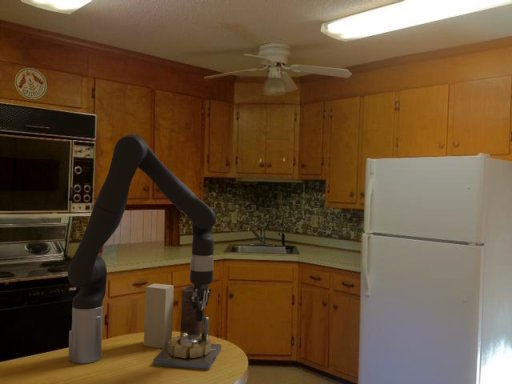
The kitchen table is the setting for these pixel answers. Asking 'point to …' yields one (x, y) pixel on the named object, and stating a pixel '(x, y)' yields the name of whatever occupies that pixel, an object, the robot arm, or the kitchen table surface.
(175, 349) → the tan block ring
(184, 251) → the kitchen table surface
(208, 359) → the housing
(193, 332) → the candle
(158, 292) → the light grey tall block
